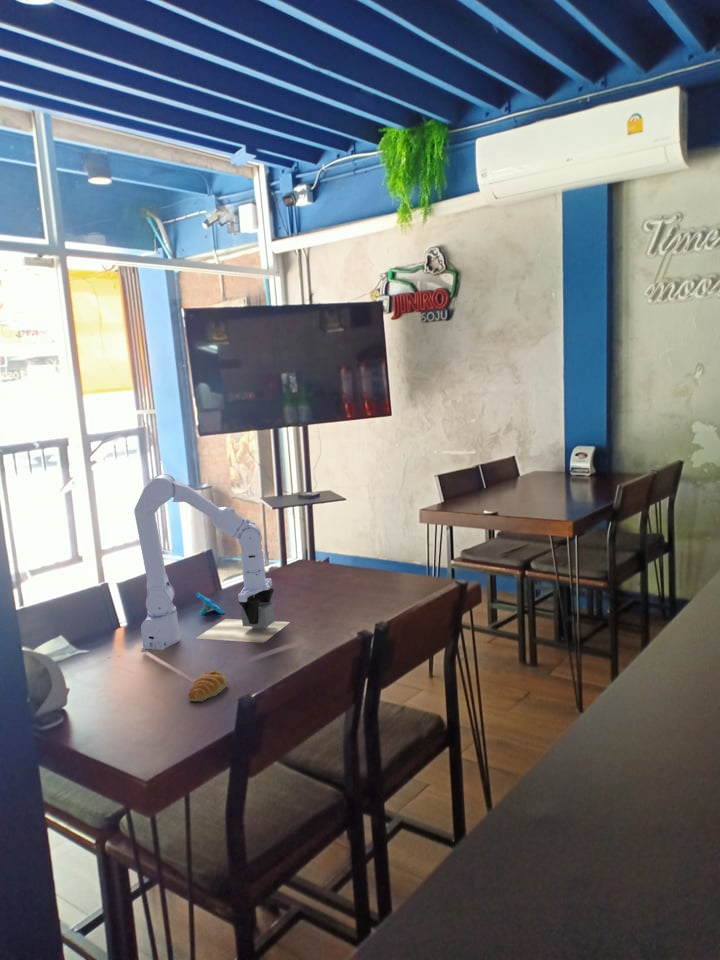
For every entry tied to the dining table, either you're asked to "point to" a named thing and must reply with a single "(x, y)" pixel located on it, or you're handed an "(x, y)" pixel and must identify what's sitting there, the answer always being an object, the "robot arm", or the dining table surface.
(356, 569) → the dining table surface
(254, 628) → the key shaft
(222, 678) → the pastry
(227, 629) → the shaft board
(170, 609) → the robot arm
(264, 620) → the grey hollow rectangular block
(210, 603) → the blue cross piece
